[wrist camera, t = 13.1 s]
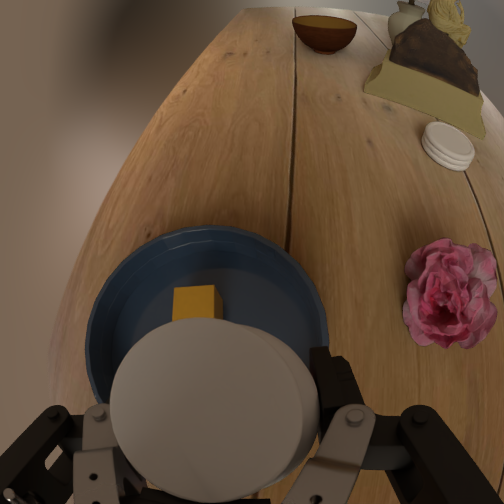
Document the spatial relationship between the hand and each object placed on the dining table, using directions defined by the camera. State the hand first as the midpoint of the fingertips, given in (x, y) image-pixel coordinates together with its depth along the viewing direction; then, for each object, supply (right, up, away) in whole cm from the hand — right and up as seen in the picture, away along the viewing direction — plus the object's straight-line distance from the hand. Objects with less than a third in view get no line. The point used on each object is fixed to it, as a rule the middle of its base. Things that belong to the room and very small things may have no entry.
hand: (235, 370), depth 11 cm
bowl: (+21, +62, +52) cm, 83 cm away
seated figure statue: (+39, +38, +36) cm, 66 cm away
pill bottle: (+1, -4, +4) cm, 6 cm away
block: (-4, -2, +18) cm, 18 cm away
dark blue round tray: (-4, -5, +17) cm, 18 cm away
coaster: (+34, +22, +28) cm, 49 cm away
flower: (+21, -2, +15) cm, 26 cm away
